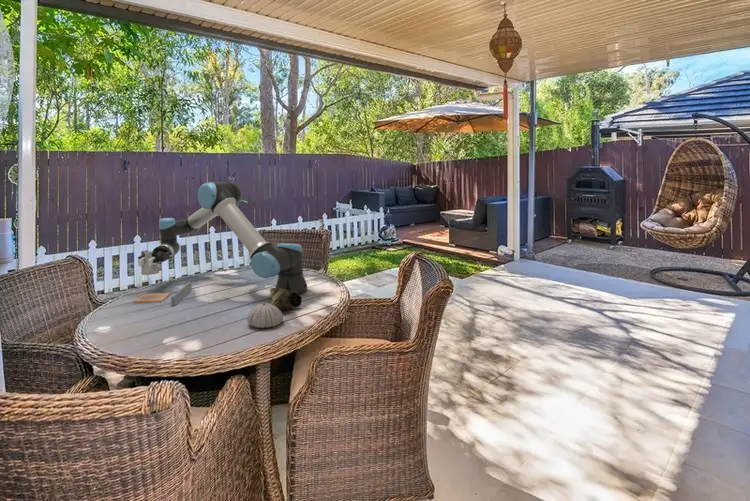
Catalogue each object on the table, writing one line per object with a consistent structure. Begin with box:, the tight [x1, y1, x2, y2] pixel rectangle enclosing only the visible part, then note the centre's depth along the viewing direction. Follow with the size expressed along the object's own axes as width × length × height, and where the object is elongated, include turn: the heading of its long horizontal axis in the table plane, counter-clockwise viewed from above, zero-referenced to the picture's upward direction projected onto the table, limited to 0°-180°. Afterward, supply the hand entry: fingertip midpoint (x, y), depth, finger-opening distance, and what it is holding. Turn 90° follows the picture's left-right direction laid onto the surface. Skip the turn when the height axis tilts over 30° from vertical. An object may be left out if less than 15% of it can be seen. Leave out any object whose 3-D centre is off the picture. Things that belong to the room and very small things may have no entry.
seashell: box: [269, 287, 303, 311], centre depth 184 cm, size 11×11×10 cm
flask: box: [140, 250, 160, 276], centre depth 200 cm, size 7×7×10 cm
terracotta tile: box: [132, 292, 172, 304], centre depth 203 cm, size 12×12×1 cm
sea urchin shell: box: [246, 302, 284, 329], centre depth 169 cm, size 13×14×8 cm
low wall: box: [170, 281, 193, 307], centre depth 204 cm, size 26×1×4 cm, turn 7°
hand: (144, 263), depth 194 cm, fingers closed on flask, 3 cm apart
